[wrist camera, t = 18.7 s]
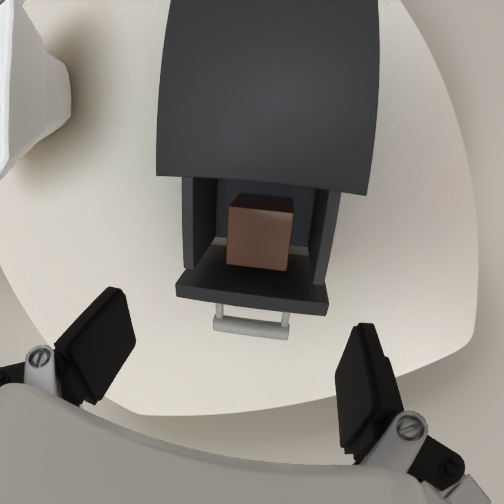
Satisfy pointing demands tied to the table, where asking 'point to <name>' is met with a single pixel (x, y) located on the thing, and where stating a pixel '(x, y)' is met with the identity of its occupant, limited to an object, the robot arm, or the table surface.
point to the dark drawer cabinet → (270, 92)
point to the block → (259, 231)
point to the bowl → (27, 87)
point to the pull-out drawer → (249, 278)
